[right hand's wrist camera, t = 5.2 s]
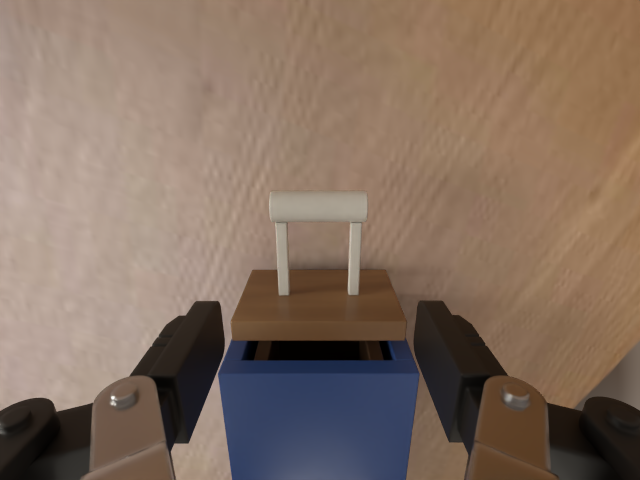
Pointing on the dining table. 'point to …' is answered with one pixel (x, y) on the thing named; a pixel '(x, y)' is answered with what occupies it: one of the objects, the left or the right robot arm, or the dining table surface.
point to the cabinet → (318, 415)
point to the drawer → (318, 292)
